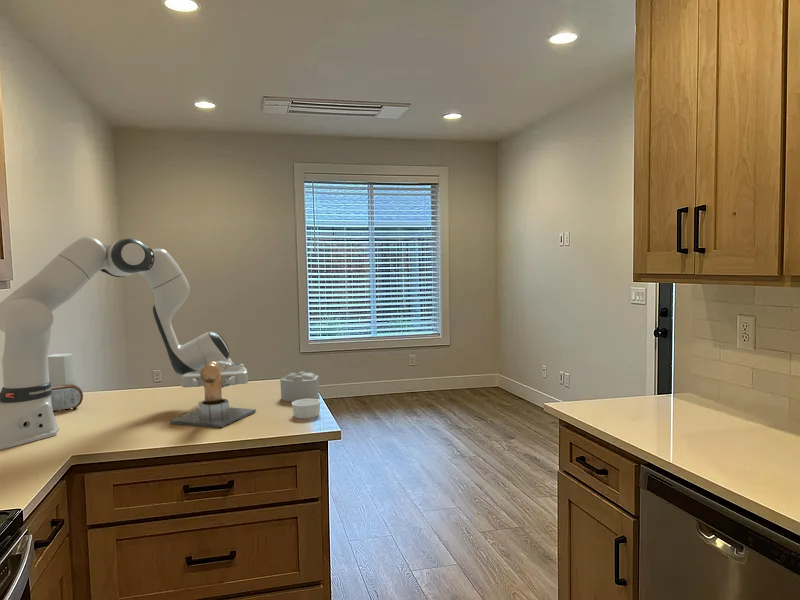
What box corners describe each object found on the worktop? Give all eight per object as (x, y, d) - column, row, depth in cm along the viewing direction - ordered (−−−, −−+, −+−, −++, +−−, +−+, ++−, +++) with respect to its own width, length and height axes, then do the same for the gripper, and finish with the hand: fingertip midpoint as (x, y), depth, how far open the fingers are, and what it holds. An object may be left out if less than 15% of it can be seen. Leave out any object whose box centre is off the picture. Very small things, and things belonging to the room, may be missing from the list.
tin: (83, 406, 199) (82, 382, 199) (84, 408, 197) (82, 383, 196) (31, 413, 191) (29, 388, 191) (31, 415, 189) (29, 389, 188)
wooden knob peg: (206, 412, 183) (204, 360, 181) (223, 411, 184) (221, 359, 182) (202, 421, 174) (200, 366, 172) (219, 420, 175) (217, 365, 173)
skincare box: (78, 394, 217) (75, 353, 216) (66, 399, 211) (63, 356, 210) (56, 394, 218) (54, 353, 217) (44, 399, 212) (41, 356, 211)
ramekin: (315, 420, 176) (314, 405, 176) (287, 419, 178) (287, 405, 178) (324, 412, 185) (324, 398, 185) (298, 411, 187) (297, 398, 187)
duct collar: (220, 428, 169) (220, 411, 169) (170, 423, 175) (169, 407, 175) (255, 412, 186) (255, 396, 186) (208, 408, 192) (207, 393, 192)
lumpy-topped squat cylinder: (316, 401, 199) (315, 376, 199) (278, 402, 199) (277, 377, 199) (320, 394, 210) (319, 370, 209) (284, 395, 210) (283, 371, 209)
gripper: (183, 366, 191) (176, 375, 177) (248, 363, 194) (245, 371, 181) (184, 386, 191) (177, 395, 177) (249, 382, 195) (246, 391, 181)
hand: (212, 383), depth 179 cm, fingers open, 8 cm apart
